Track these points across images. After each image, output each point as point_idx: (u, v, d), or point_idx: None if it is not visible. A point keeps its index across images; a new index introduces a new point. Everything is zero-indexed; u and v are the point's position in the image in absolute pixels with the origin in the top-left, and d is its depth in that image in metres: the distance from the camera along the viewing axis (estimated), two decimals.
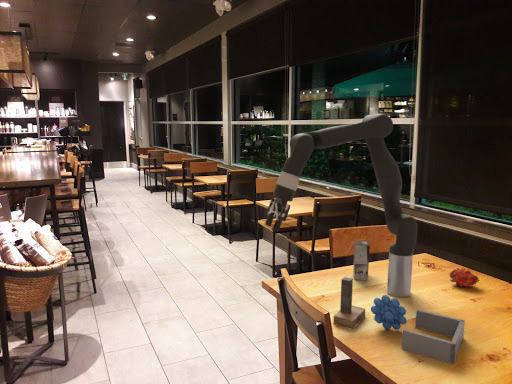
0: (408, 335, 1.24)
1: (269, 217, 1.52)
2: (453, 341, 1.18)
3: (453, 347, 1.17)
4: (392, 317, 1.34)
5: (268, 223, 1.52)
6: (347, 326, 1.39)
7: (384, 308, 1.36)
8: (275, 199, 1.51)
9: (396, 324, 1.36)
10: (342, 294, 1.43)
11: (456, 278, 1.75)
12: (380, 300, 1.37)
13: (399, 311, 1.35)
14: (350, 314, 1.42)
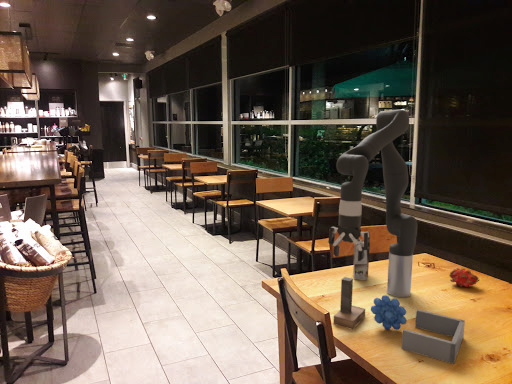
0: (408, 335, 1.24)
1: (337, 248, 1.43)
2: (453, 341, 1.18)
3: (453, 347, 1.17)
4: (392, 317, 1.34)
5: (337, 254, 1.44)
6: (347, 326, 1.39)
7: (384, 308, 1.36)
8: (339, 229, 1.42)
9: (396, 324, 1.36)
10: (342, 294, 1.43)
11: (456, 278, 1.75)
12: (380, 300, 1.37)
13: (399, 311, 1.35)
14: (350, 314, 1.42)
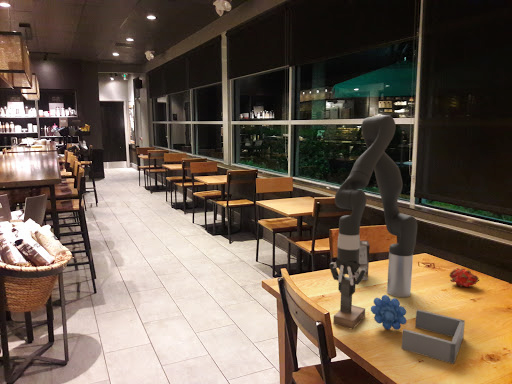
0: (408, 335, 1.24)
1: None
2: (453, 341, 1.18)
3: (453, 347, 1.17)
4: (392, 317, 1.34)
5: None
6: (347, 326, 1.39)
7: (384, 308, 1.36)
8: (337, 261, 1.43)
9: (396, 324, 1.36)
10: (342, 294, 1.43)
11: (456, 278, 1.75)
12: (380, 300, 1.37)
13: (399, 311, 1.35)
14: (350, 314, 1.42)
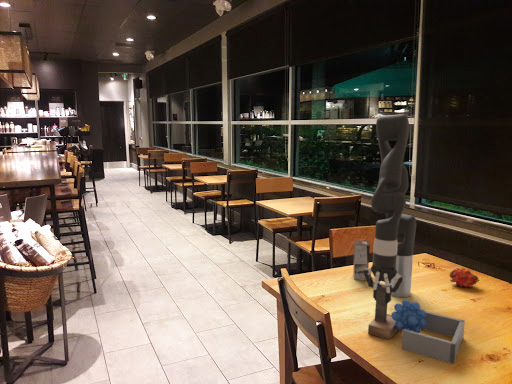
0: (408, 335, 1.24)
1: None
2: (453, 341, 1.18)
3: (453, 347, 1.17)
4: (416, 321, 1.30)
5: None
6: (383, 336, 1.32)
7: (406, 313, 1.32)
8: (372, 267, 1.36)
9: (417, 328, 1.33)
10: (377, 302, 1.36)
11: (456, 278, 1.75)
12: (401, 305, 1.33)
13: (420, 314, 1.33)
14: (385, 323, 1.35)
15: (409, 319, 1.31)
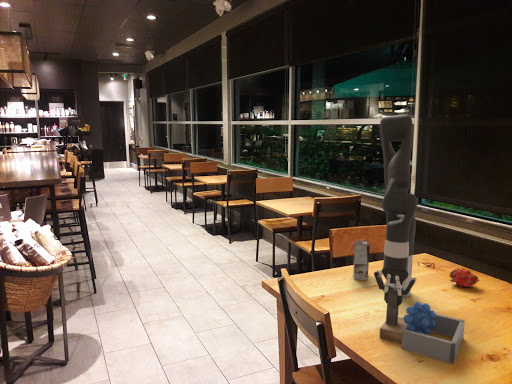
0: (408, 335, 1.24)
1: None
2: (453, 341, 1.18)
3: (453, 347, 1.17)
4: (429, 323, 1.29)
5: None
6: (395, 339, 1.29)
7: (419, 316, 1.30)
8: (383, 270, 1.34)
9: (428, 329, 1.32)
10: (388, 305, 1.34)
11: (456, 278, 1.75)
12: (413, 308, 1.31)
13: (431, 315, 1.32)
14: (397, 326, 1.33)
15: (422, 321, 1.29)
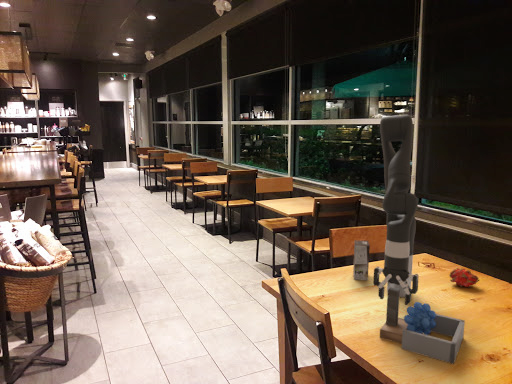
0: (408, 335, 1.24)
1: (382, 290, 1.36)
2: (453, 341, 1.18)
3: (453, 347, 1.17)
4: (429, 323, 1.29)
5: (383, 296, 1.36)
6: (395, 340, 1.30)
7: (419, 316, 1.30)
8: (385, 270, 1.34)
9: (428, 329, 1.32)
10: (388, 306, 1.34)
11: (456, 278, 1.75)
12: (414, 308, 1.31)
13: (431, 315, 1.32)
14: (397, 327, 1.33)
15: (423, 321, 1.29)
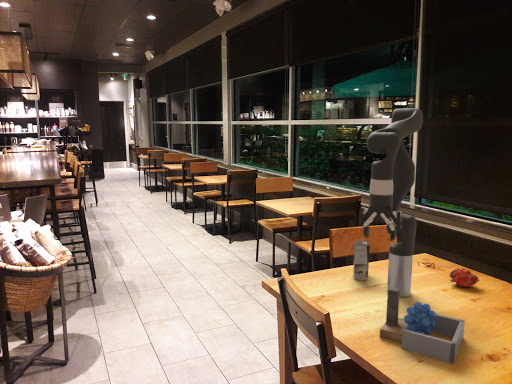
0: (408, 335, 1.24)
1: (367, 228, 1.41)
2: (453, 341, 1.18)
3: (453, 347, 1.17)
4: (429, 323, 1.29)
5: (368, 234, 1.41)
6: (395, 340, 1.30)
7: (419, 316, 1.30)
8: (370, 209, 1.39)
9: (428, 329, 1.32)
10: (388, 306, 1.34)
11: (456, 278, 1.75)
12: (414, 308, 1.31)
13: (431, 315, 1.32)
14: (397, 327, 1.33)
15: (423, 321, 1.29)
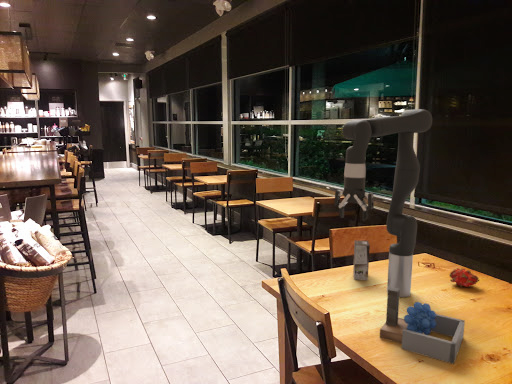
0: (408, 335, 1.24)
1: (342, 209, 1.52)
2: (453, 341, 1.18)
3: (453, 347, 1.17)
4: (429, 323, 1.29)
5: (343, 215, 1.53)
6: (395, 340, 1.30)
7: (419, 316, 1.30)
8: (345, 191, 1.50)
9: (428, 329, 1.32)
10: (388, 306, 1.34)
11: (456, 278, 1.75)
12: (414, 308, 1.31)
13: (431, 315, 1.32)
14: (397, 327, 1.33)
15: (423, 321, 1.29)
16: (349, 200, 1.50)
